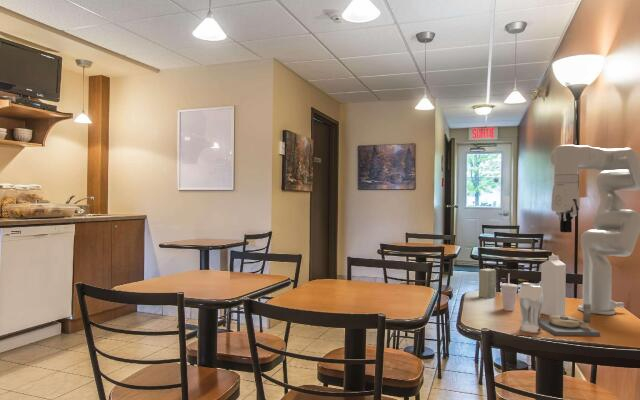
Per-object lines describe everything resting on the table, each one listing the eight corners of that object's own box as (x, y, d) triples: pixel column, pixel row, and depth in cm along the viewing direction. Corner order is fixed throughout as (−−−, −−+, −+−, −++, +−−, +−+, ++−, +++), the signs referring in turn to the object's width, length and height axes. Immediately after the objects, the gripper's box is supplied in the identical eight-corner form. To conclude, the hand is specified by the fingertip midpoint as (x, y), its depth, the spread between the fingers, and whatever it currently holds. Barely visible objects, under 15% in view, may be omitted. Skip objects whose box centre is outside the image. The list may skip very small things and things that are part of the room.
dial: (591, 328, 145) (592, 305, 145) (557, 327, 145) (558, 304, 145) (575, 320, 154) (576, 298, 154) (544, 319, 154) (544, 298, 154)
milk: (565, 315, 167) (566, 256, 167) (555, 317, 164) (556, 257, 164) (549, 311, 173) (551, 254, 172) (540, 313, 170) (541, 255, 169)
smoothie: (514, 308, 177) (515, 272, 177) (520, 312, 171) (520, 275, 171) (497, 307, 178) (498, 272, 178) (502, 311, 172) (503, 274, 172)
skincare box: (487, 295, 201) (487, 268, 201) (496, 297, 197) (496, 269, 197) (478, 296, 198) (478, 269, 198) (486, 298, 194) (487, 270, 194)
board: (571, 322, 157) (571, 317, 157) (600, 336, 141) (600, 330, 141) (531, 321, 157) (531, 316, 157) (555, 335, 141) (555, 330, 141)
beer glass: (514, 327, 150) (515, 282, 150) (534, 327, 150) (535, 282, 150) (526, 333, 143) (526, 286, 143) (546, 333, 143) (547, 286, 143)
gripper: (544, 180, 166) (543, 230, 166) (568, 179, 151) (568, 234, 151) (563, 180, 166) (563, 230, 166) (590, 179, 151) (589, 234, 151)
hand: (565, 232), depth 159 cm, fingers closed
